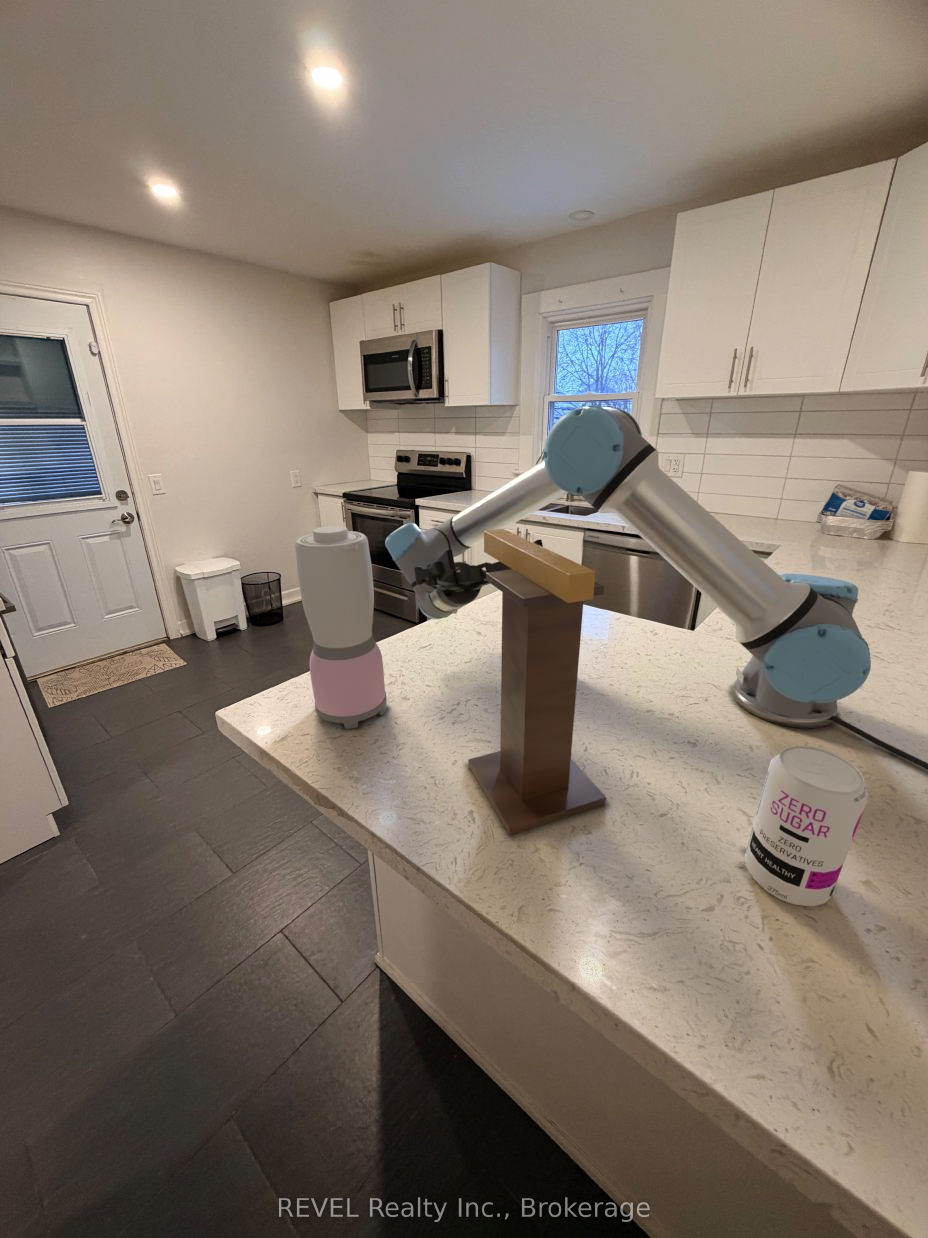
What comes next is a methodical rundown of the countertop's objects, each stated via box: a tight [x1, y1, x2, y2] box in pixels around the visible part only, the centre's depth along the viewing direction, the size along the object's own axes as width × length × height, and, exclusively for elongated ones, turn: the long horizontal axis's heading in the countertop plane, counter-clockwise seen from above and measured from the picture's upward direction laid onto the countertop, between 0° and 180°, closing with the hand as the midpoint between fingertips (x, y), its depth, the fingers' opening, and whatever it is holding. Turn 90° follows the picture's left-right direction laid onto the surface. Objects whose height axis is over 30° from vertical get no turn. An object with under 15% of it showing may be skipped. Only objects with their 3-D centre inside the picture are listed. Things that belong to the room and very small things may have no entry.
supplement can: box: [743, 744, 869, 907], centre depth 52 cm, size 8×8×15 cm
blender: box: [294, 525, 387, 730], centre depth 82 cm, size 16×12×32 cm
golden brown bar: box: [483, 528, 596, 603], centre depth 59 cm, size 22×3×3 cm, turn 21°
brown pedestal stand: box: [467, 569, 607, 836], centre depth 63 cm, size 14×14×30 cm
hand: (497, 553), depth 68 cm, fingers open, 13 cm apart
